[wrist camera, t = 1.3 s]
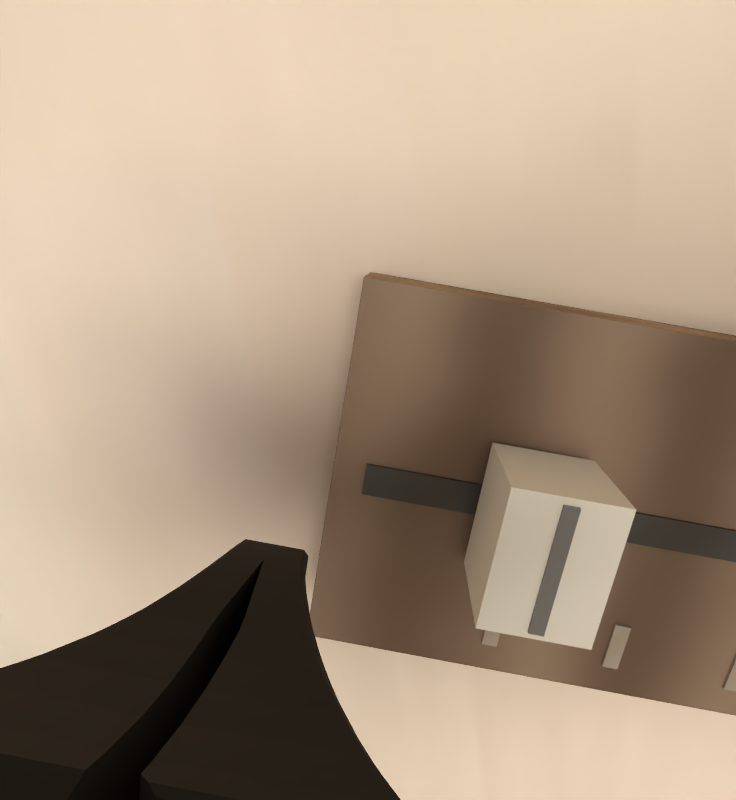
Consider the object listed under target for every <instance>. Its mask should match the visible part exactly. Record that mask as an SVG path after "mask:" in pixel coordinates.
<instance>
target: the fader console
mask: <svg viewBox="0 0 736 800" xmlns="http://www.w3.org/2000/svg"><path fill="white" fill-rule="evenodd" d="M492 443H498V444H504V445H509V446H515V447H520V448H526V449H532V450H537V451H543V452H548V453H554V454H559V455H565V456H571V457H576V458H582V459H587V460H593V461H595V462H596V463H597V464H598V465H599V467H600V468H601V469H602V470H603V471H604V472H605V474H606V475H607V476H608V477H609V478H610V479H611V481H612V482H613V483H614V484H615V485H616V486H617V488H618V489H619V490H620V491H621V492H622V493H623V495H624V496H625V497H626V498H627V499H628V500H629V502H630V503H631V504H632V505H633V506H634V507H635V509H636V513H635V516H634V519H633V522H632V526H631V529H630V532H629V535H628V538H627V541H626V544H625V547H624V550H623V553H622V557H621V560H620V563H619V566H618V569H617V572H616V575H615V578H614V581H613V584H612V587H611V591H610V594H609V597H608V600H607V603H606V606H605V609H604V612H603V615H602V618H601V622H600V625H599V628H598V631H597V634H596V637H595V640H594V643H593V646H592V649H591V650H589V649H583V648H578V647H573V646H567V645H562V644H557V643H551V642H546V641H541V640H535V639H530V638H524V637H519V636H514V635H508V634H503V633H498V632H492V631H487V630H481V629H476V628H475V622H474V617H473V611H472V605H471V600H470V594H469V588H468V582H467V577H466V571H465V565H464V560H465V555H466V551H467V547H468V543H469V539H470V534H471V530H472V526H473V522H474V518H475V514H476V509H477V505H478V501H479V497H480V493H481V489H482V484H483V480H484V476H485V472H486V468H487V463H488V459H489V455H490V451H491V447H492ZM310 618H311V623H312V628H313V631H314V635H315V637H320V638H326V639H331V640H336V641H342V642H347V643H352V644H358V645H363V646H368V647H374V648H379V649H384V650H390V651H395V652H400V653H406V654H411V655H416V656H422V657H427V658H432V659H438V660H443V661H448V662H454V663H459V664H464V665H470V666H475V667H480V668H486V669H491V670H496V671H502V672H507V673H512V674H518V675H523V676H528V677H534V678H539V679H544V680H550V681H555V682H560V683H565V684H571V685H576V686H581V687H587V688H592V689H597V690H603V691H608V692H613V693H619V694H624V695H629V696H635V697H640V698H645V699H651V700H656V701H661V702H667V703H672V704H677V705H683V706H688V707H693V708H699V709H704V710H709V711H715V712H720V713H725V714H731V715H736V336H733V335H728V334H722V333H716V332H710V331H705V330H699V329H693V328H687V327H682V326H676V325H670V324H665V323H659V322H653V321H647V320H642V319H636V318H630V317H624V316H619V315H613V314H607V313H601V312H596V311H590V310H584V309H578V308H573V307H567V306H561V305H555V304H550V303H544V302H538V301H532V300H527V299H521V298H515V297H509V296H504V295H498V294H492V293H486V292H481V291H475V290H469V289H464V288H458V287H452V286H446V285H441V284H435V283H429V282H423V281H418V280H412V279H406V278H400V277H395V276H389V275H383V274H377V273H372V272H371V273H369V274H368V275H367V276H365V277H364V281H363V288H362V294H361V300H360V306H359V312H358V319H357V325H356V331H355V337H354V343H353V350H352V356H351V362H350V368H349V374H348V381H347V387H346V393H345V399H344V405H343V412H342V418H341V424H340V430H339V436H338V443H337V449H336V455H335V461H334V467H333V474H332V480H331V486H330V492H329V498H328V505H327V511H326V517H325V523H324V529H323V536H322V542H321V548H320V554H319V560H318V567H317V573H316V579H315V585H314V592H313V598H312V604H311V610H310Z"/></svg>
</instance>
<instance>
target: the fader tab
mask: <svg viewBox="0 0 736 800" xmlns="http://www.w3.org/2000/svg"><path fill="white" fill-rule="evenodd" d="M635 513H636V509H635V507H634V506H633V505H632V504H631V503H630V502H629V500H628V499H627V498H626V497H625V496H624V495H623V493H622V492H621V491H620V490H619V489H618V488H617V486H616V485H615V484H614V483H613V482H612V481H611V479H610V478H609V477H608V476H607V475H606V474H605V472H604V471H603V470H602V469H601V468H600V467H599V465H598V464H597V463H596V462H595V461H593V460H587V459H582V458H576V457H571V456H565V455H559V454H554V453H548V452H543V451H537V450H532V449H526V448H520V447H515V446H509V445H504V444H498V443H492V447H491V451H490V455H489V459H488V463H487V468H486V472H485V476H484V480H483V484H482V489H481V493H480V497H479V501H478V505H477V509H476V514H475V518H474V522H473V526H472V530H471V534H470V539H469V543H468V547H467V551H466V555H465V560H464V565H465V571H466V577H467V582H468V588H469V594H470V600H471V605H472V611H473V617H474V622H475V628H476V629H481V630H487V631H492V632H498V633H503V634H508V635H514V636H519V637H524V638H530V639H535V640H541V641H546V642H551V643H557V644H562V645H567V646H573V647H578V648H583V649H589V650H591V649H592V646H593V643H594V640H595V637H596V634H597V631H598V628H599V625H600V622H601V618H602V615H603V612H604V609H605V606H606V603H607V600H608V597H609V594H610V591H611V587H612V584H613V581H614V578H615V575H616V572H617V569H618V566H619V563H620V560H621V557H622V553H623V550H624V547H625V544H626V541H627V538H628V535H629V532H630V529H631V526H632V522H633V519H634V516H635Z"/></svg>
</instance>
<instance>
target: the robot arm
mask: <svg viewBox="0 0 736 800" xmlns="http://www.w3.org/2000/svg"><path fill="white" fill-rule="evenodd" d="M307 562H308V555H307V554H306V552H305V551H304V550H301V549H296V548H290V547H285V546H279V545H274V544H268V543H263V542H258V541H252V540H247V539H245V540H244V541H242V542H241V543H239V544H238V545H236V546H235V547H234V548H232V549H231V550H230V551H228V552H227V553H226V554H224V555H223V556H222V557H220V558H219V559H218V560H216V561H215V562H214V563H212V564H211V565H210V566H208V567H207V568H205V569H204V570H203V571H201V572H200V573H198V574H197V575H195V576H194V577H193V578H191V579H190V580H188V581H187V582H185V583H184V584H183V585H181V586H180V587H178V588H177V589H175V590H173V591H172V592H170V593H169V594H167V595H165V596H164V597H162V598H160V599H159V600H157V601H156V602H154V603H152V604H151V605H149V606H147V607H146V608H144V609H142V610H140V611H138V612H137V613H135V614H133V615H131V616H129V617H127V618H125V619H123V620H121V621H119V622H117V623H115V624H113V625H111V626H109V627H107V628H105V629H103V630H100V631H98V632H96V633H94V634H92V635H89V636H87V637H84V638H82V639H79V640H77V641H74V642H72V643H69V644H67V645H64V646H62V647H59V648H57V649H54V650H52V651H49V652H47V653H44V654H42V655H39V656H36V657H33V658H30V659H27V660H24V661H21V662H18V663H15V664H12V665H9V666H6V667H3V668H0V800H400V798H399V797H398V796H397V794H396V793H395V792H394V790H393V789H392V788H391V787H390V785H389V784H388V783H387V781H386V780H385V779H384V777H383V776H382V775H381V773H380V772H379V770H378V769H377V767H376V766H375V765H374V763H373V761H372V760H371V758H370V757H369V755H368V753H367V752H366V750H365V749H364V747H363V745H362V744H361V742H360V741H359V739H358V737H357V736H356V734H355V732H354V730H353V728H352V726H351V724H350V722H349V720H348V718H347V717H346V715H345V713H344V711H343V709H342V707H341V705H340V703H339V701H338V699H337V697H336V695H335V692H334V690H333V688H332V685H331V683H330V681H329V678H328V675H327V673H326V670H325V667H324V665H323V662H322V659H321V656H320V653H319V650H318V646H317V643H316V639H315V635H314V631H313V628H312V623H311V618H310V613H309V607H308V601H307V594H306V582H305V575H306V568H307Z"/></svg>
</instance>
